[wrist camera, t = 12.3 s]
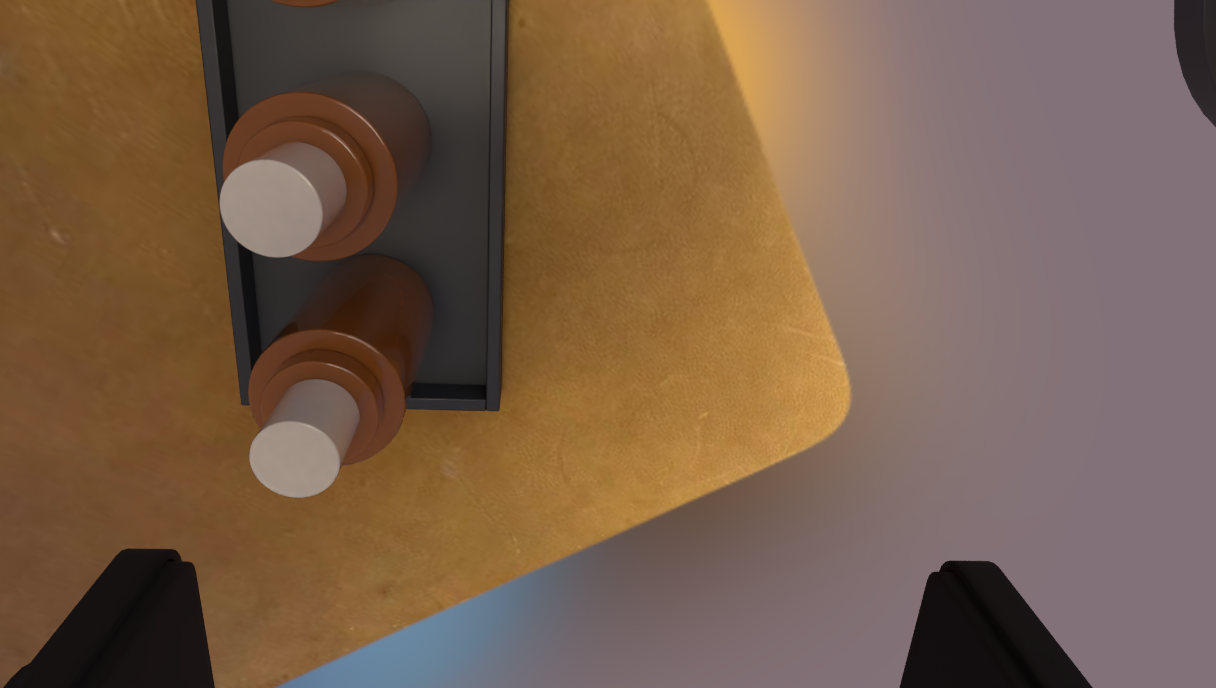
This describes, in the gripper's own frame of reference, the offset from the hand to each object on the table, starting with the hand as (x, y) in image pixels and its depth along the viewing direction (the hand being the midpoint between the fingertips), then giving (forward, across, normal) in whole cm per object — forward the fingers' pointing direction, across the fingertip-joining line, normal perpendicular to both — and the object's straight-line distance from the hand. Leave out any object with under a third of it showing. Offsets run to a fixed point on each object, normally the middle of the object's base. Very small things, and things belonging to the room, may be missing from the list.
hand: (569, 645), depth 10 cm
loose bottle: (+26, +8, +5) cm, 28 cm away
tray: (+27, +8, -2) cm, 28 cm away
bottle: (+26, +8, -2) cm, 27 cm away
